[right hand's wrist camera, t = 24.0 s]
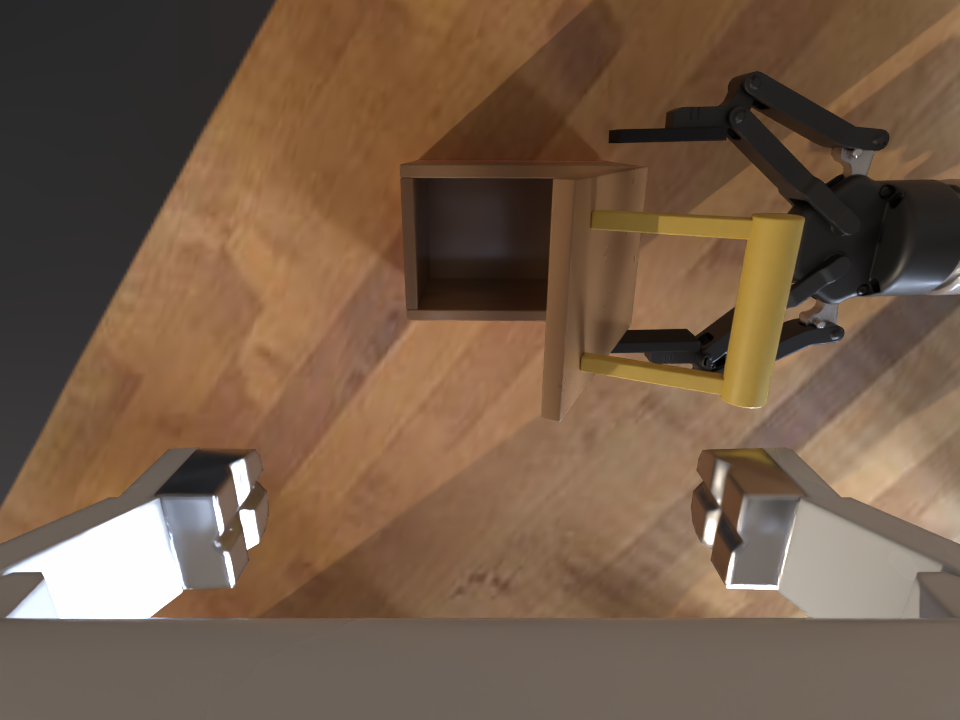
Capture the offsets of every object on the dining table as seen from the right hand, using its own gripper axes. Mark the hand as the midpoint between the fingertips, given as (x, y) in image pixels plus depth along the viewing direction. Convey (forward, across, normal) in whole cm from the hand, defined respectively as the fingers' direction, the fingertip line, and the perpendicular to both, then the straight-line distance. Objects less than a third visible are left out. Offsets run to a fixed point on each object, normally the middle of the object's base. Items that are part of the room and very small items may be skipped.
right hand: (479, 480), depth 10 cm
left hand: (+28, -8, 0) cm, 30 cm away
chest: (+35, -2, 0) cm, 35 cm away
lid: (+18, -6, 0) cm, 19 cm away
